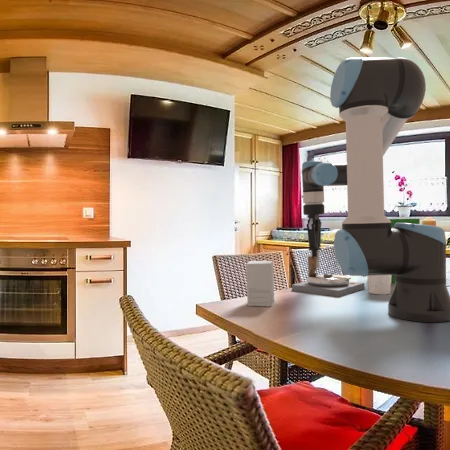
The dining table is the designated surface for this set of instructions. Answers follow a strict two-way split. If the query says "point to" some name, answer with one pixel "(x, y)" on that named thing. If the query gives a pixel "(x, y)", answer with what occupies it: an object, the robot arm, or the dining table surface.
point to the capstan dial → (324, 276)
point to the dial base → (329, 288)
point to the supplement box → (260, 283)
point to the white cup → (379, 284)
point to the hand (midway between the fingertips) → (315, 267)
